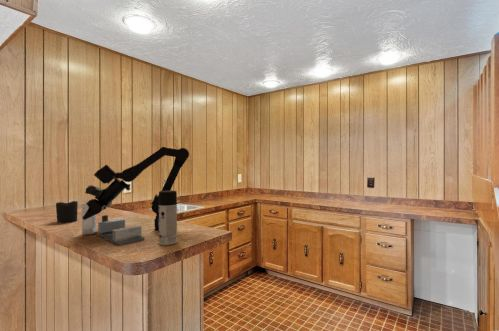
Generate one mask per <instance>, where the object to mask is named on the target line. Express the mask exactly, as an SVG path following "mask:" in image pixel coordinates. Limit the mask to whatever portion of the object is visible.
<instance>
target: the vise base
mask: <svg viewBox="0 0 499 331" xmlns="http://www.w3.org/2000/svg"><path fill="white" fill-rule="evenodd" d="M97 235H98V236H99V237H102V238H103V239H105V240H106V241H108V242H111V243H113V244H114V245H116V246H117V247H118V246H120V247H121V246H124V245H128V244H132V243H136V242H142V241H144V240H145V236H142V226H141V225H139V224H137V225H131V226H125V228H120V229H115V230H113V231H110V232H105V233H99V232H98V231H97Z"/></svg>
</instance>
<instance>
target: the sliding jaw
mask: <svg viewBox="0 0 499 331" xmlns="http://www.w3.org/2000/svg"><path fill="white" fill-rule="evenodd" d="M97 225H98V226H97V230H98V231H97V233H98V232H99V233H105V232H110V231H113V230H115V229H120V228H126V220H125V218H124V219H123V218H118V219H113V220H109V215H106V214H105V215H101V221H100V222H97Z"/></svg>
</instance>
